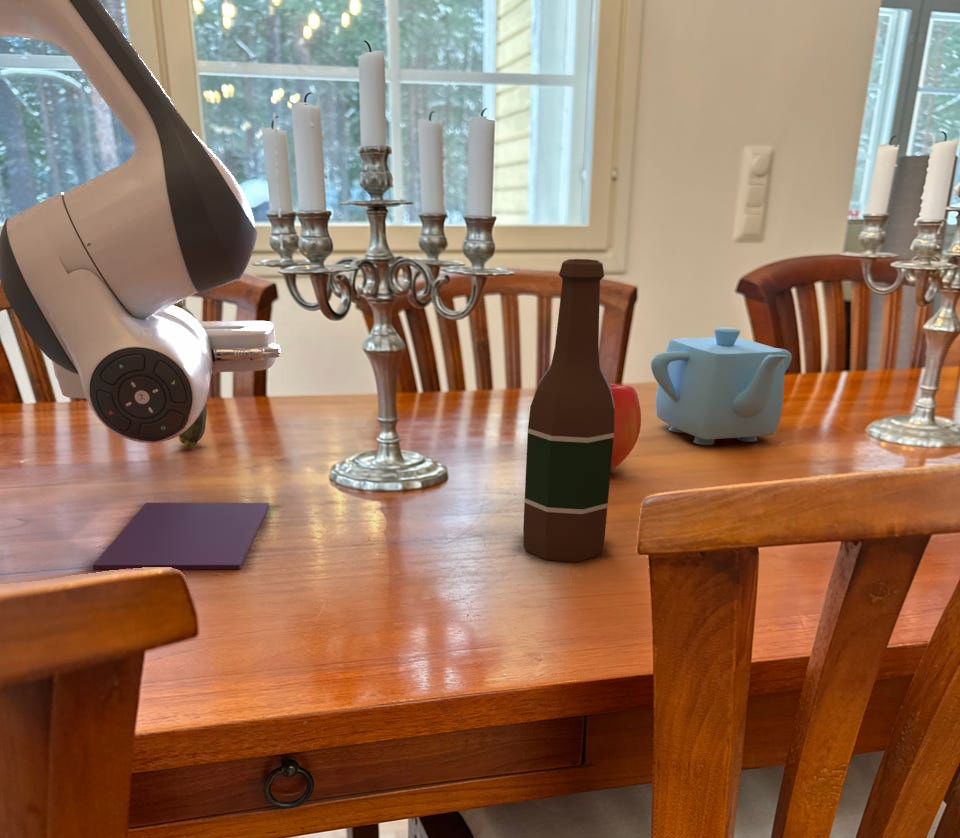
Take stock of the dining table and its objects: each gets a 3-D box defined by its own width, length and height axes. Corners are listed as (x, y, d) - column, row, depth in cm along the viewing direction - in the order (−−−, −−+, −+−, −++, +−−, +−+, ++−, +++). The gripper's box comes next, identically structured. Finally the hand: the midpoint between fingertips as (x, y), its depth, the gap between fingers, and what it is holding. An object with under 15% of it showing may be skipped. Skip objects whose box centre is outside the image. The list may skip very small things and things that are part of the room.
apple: (653, 471, 103) (663, 383, 98) (602, 488, 97) (610, 395, 92) (587, 454, 109) (594, 369, 104) (536, 469, 103) (540, 380, 98)
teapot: (628, 437, 116) (639, 328, 110) (675, 413, 129) (688, 315, 122) (767, 461, 108) (787, 345, 101) (804, 433, 120) (824, 328, 114)
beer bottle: (543, 526, 86) (559, 254, 75) (619, 542, 82) (647, 260, 71) (505, 551, 80) (515, 260, 69) (585, 570, 76) (609, 266, 65)
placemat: (93, 569, 74) (92, 565, 74) (146, 506, 88) (145, 502, 88) (239, 569, 75) (239, 564, 75) (269, 506, 89) (268, 502, 89)
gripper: (278, 318, 78) (274, 299, 90) (27, 321, 74) (57, 300, 86) (284, 391, 81) (279, 363, 93) (43, 398, 77) (70, 368, 89)
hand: (171, 333), depth 90 cm, fingers open, 8 cm apart
